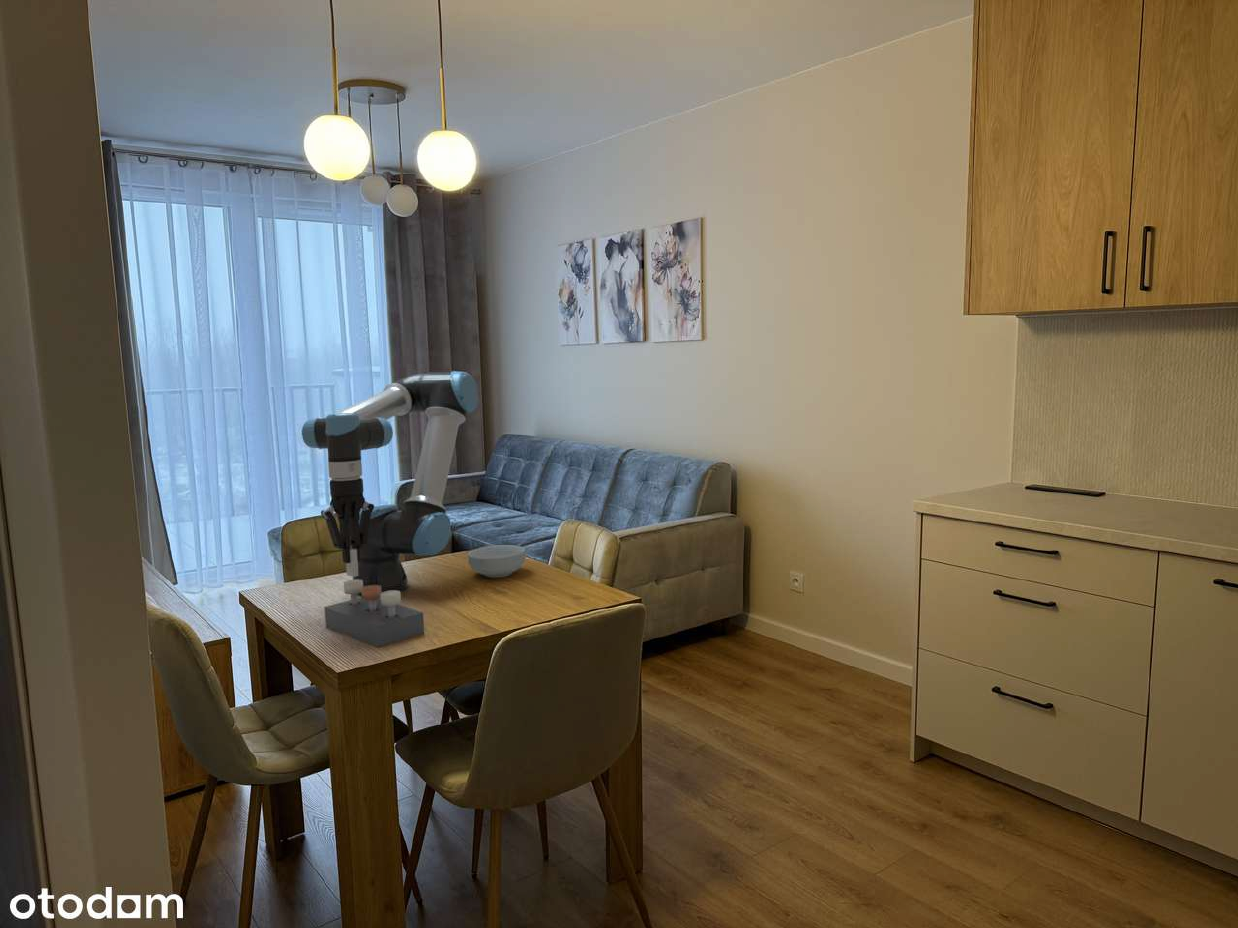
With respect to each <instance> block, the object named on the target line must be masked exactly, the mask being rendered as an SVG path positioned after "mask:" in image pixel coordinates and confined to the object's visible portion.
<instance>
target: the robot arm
mask: <svg viewBox="0 0 1238 928" xmlns="http://www.w3.org/2000/svg"><path fill="white" fill-rule="evenodd" d="M478 403H479V392H478V386H477V384H476V381H475V379H474V378H473V376H471V375H470V373H468V372H466V371H456V370H453V371H434V372H432V371H430V372H428V371H426V372H425V371H423V372H422V371H421V372H417V373H414V374H410V375H408V376H405V377H403V378H400V379H398V380H396V381H394V382H391V383H389V384H387V385H385V387H384V388H383V390H382V391H380V392H379V393H376V394H374V395H372V396H369V397H367V398H366V399H364V400H361V401H359V402H357V403H355V404H352V405H351V406H349V407H346V408H344V409H342V410H339V411H338V412H335V413H329V414H328V415H326V416H325V417H323V418H319V417H316V418H311V419H310V418H309V419H307V420H306V421H305V422H304V423H303V425H302V428H301V436H302V437H301V438H302V440H303V443H304V444H305V445H306V446H307V447H308V448H311V449H318V450H323V449H325V450H326V449H327V457H328V458H327V463H328V464H327V465H328V478H330V481H329V492H330V501H329V506H328V507H327V508H326V509H325V510H324V509H323V510H321V512H320V514H321V516H322V517H323V519H324V520H325V522H326V526H327V529H328V532H329V535H330V538H331V540H332V544H333V547H334V548H335V549H339V550H341V554H342V555H341V556H342V562H343V564H345V567H346V568H345V569H346V576H349V577H352V580H355V579H359V580H363V587H364V586H367V585H380V586H381V592H385V591H391V590H397V591H400V592H402V591H403V590H405V589H407V588H408V586H409V584H408V583H409V582H408V580H409V579H408V576H407V574H406V571H405V569H404V567H403V563H402V561H401V557H400V555H413V556H414V555H415V556H421V557H422V556H423V557H424V556H434V555H438V554H439V553H440V552H442V550H444V549H445V547H446V546H447V544H448V543H449V539H450V536H451V531H452V527H451V526H450V525H451V519H450V517H449V516H448V515H447V514H446V512H447V510H446V508H445V506H444V505H443V499H444V495H445V490H446V486H447V481H448V478H449V477H448V476H449V473H450V472H449V471H450V468H451V464H452V458H453V454H454V449H455V444H456V441H457V435H458V431H459V426H460V425H462V424H464V423H465V422H466V420H467V415H468V413H469V414H470V413H472V412H473V413H474V411H475V410H476V409H477V407H478ZM421 412H422V413H424V414H425V415H426V417H427V418H428V422H427V425H426V429H425V434H424V439H423V443H422V447H421V451H420V456H419V460H418V465H417V469H416V472H415V477H414V481H413V485H412V490H411V494H410V497H409V498H408V499H406V500H404V501H403V504H402V507H401V510H398V507H397V505H396V504H384V505H376V506H375V504H373V503H369V502H367V501H366V498H365V496H364V479H362V477H361V476H363V467H362V451H366V450H372V449H380V448H383V447H386V446H387V445H389V444H390V443H391V441H392V439H393V436H394V435H393V434H394V432H393V427H392V424H391V423H390V422H389V421H388V420H389V419H391V418H392V417H395V416H400V417H401V416H404V415H407V414H409V413H421ZM335 514H336V516H337V520H338V524H339V525H338V524H337V520H336V517H335ZM358 596H362V592H361V593H358Z"/></svg>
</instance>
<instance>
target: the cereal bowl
mask: <svg viewBox="0 0 1238 928" xmlns="http://www.w3.org/2000/svg"><path fill="white" fill-rule="evenodd" d="M526 555H527V554H526V548H524V546H519V545H511V544H500V545H499V544H498V545H488V546H483V547H478V548H475V549H472V550H470V551H469V552H468V553H467V561H468V564H469V567H470V568H471V570H472V571H474V572H475V573H477V574H480V575H484V576H485V577H486V578H494V579H495V578H496V579H497V578H498V579H499V578H505V577H508V576H511V575H512V574H513V572H516V571H518V570H519V569H520V568H522V566H523V565H524V563H525V561H526Z"/></svg>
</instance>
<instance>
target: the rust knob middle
mask: <svg viewBox="0 0 1238 928" xmlns="http://www.w3.org/2000/svg"><path fill="white" fill-rule="evenodd" d="M381 593H382V592H381V586H380V585H367V586H364V587H362V595H361V597H362V599H364V600H369V611H370V612H372V611H376V599H378V598H379V599H381V595H380V594H381Z"/></svg>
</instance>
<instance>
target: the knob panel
mask: <svg viewBox="0 0 1238 928" xmlns="http://www.w3.org/2000/svg"><path fill="white" fill-rule="evenodd" d="M323 608H324V618H325V619H324V620H325V621H324V622H325V627H326V628H328V629H329V630H332V631H334V632H336V633H337V632H338V633H340V634H343V635H345V636H347V637H351V638H353V639H356V640H358V641H361V642H364V643H365V644H369V645H371V646H374V647H377V648H381V647H384V646H388V645H391V644H394V643H398V642H400V641H405V640H407V639H410V638H413V637H417V636H419V635H423V634H425V628H424V627H425V624H424V612H422V611H420V610H418V609H413V608H411V607H407V606H404V605H401V604H398V605H395V615H396V617H393V618H388V606H383V605H381V598H378V599H376V611H372V612H370V611H369V600H364V599H362V596H361V597H358V604H357V605H354V606H352V605H351V599H350V600H346V601H341V602H339V603H334V604H330V605H327V606H324V607H323Z"/></svg>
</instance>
